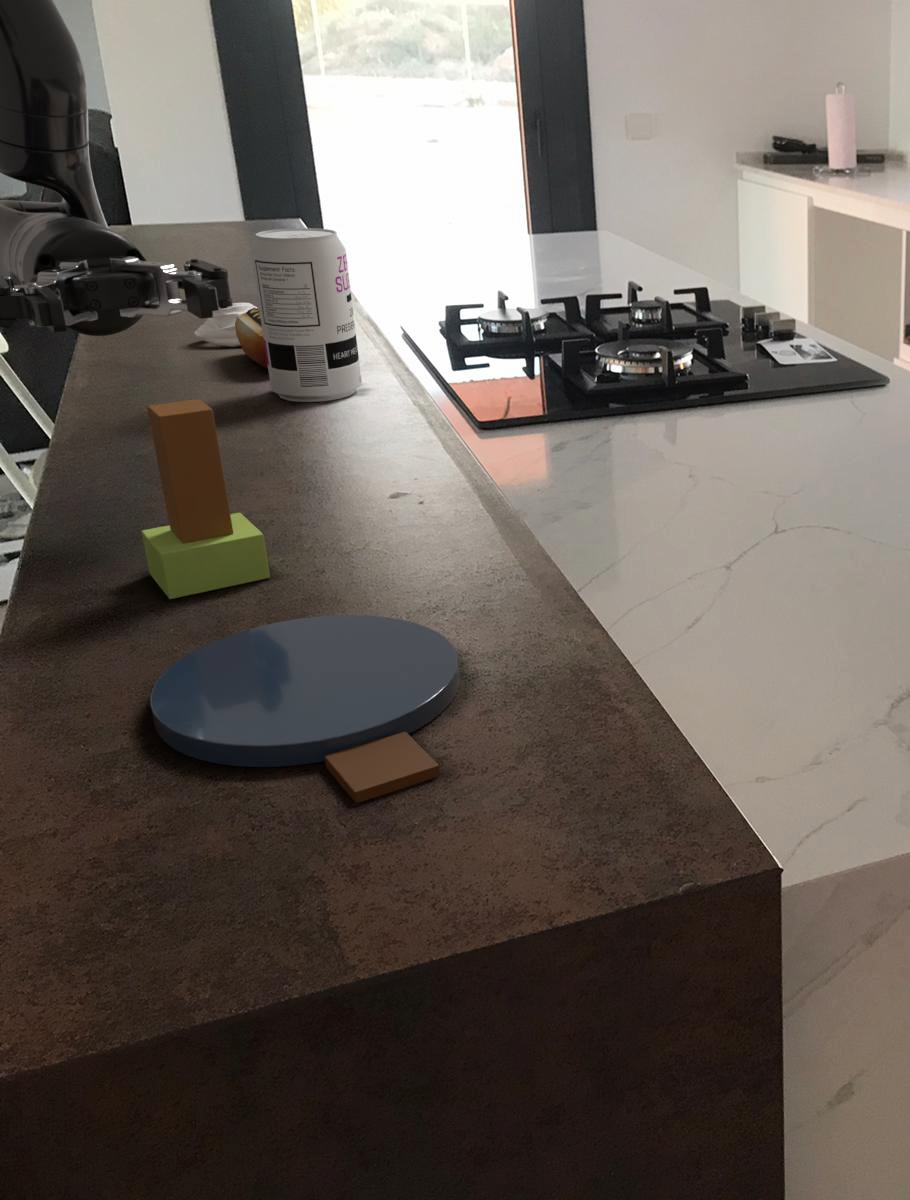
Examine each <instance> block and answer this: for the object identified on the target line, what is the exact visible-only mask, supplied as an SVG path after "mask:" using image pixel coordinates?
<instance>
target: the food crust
mask: <svg viewBox="0 0 910 1200" xmlns="http://www.w3.org/2000/svg"><path fill="white" fill-rule="evenodd" d="M324 758H325V761H324V764H325V768H326V769H327V771H328V772H329V773H330V774H331V775H332V776H333V777H334V779H335V780H336V781H337V782H338V784H339V785H340V786H341V787H342V788H343V790H344V791H345V792H346V793H347V794H348V796H349V797H350V798H351V799H352V800H353V802H354V803H355V804H359V803H362V802H365V801H368V800H371V799H374V798H377V797H381V796H383V795H386V794H390V793H392V792H396V791H399V790H401V789H406V788H407V787H410V786H413V785H417V784H421V783H423V782H427V781H429V780H432V779H433V780H434V779H435V778H439V777H440V776H441V771H440V765H439V763H437V762H436V761H435V760H434V758H433V757H431V756H430V754H429V753H428V752H426V751H425V749H423V748H422V747H421V746H420V744H418V743H417V741H416V740H415V739H413V737H412V736H411V735H410V734H407V732H402V733H399V734H395V735H392V736H389V737H386V738H382V739H379V740H376V741H372V742H369V743H366V744H362V745H359V746H356V747H352V748H349V749H346V750H342V751H339V752H336V753H332V754H329V755H326V756H324Z"/></svg>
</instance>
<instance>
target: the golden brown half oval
mask: <svg viewBox="0 0 910 1200" xmlns="http://www.w3.org/2000/svg"><path fill="white" fill-rule="evenodd" d="M235 329H236V335H237V338H238V340H239V342H240V344H241V346H240V347H241V349H242V350H243V353H244V354H245V355H246V356H247V357H248V358H249V359H251V360H252V361H254V362H255V363H256V364H259V365H260V366H262V367H263V368H265V369H267V370H268V364H267V358H266V351H265V344H264V338H263V331H262V324H261V318H260V311H259V307H257V308H253V309H250V310H248V311H247V312H246V313H243V314H241V315H239V316H237V319H236V322H235Z"/></svg>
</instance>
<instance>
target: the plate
mask: <svg viewBox="0 0 910 1200" xmlns="http://www.w3.org/2000/svg"><path fill="white" fill-rule="evenodd" d="M460 680H461V675H460V665H459V657H458V653H457V651H456V649H455V647H454V645H453V644H452V643H451V642H450V641H449V639H447V637H445V636H444V635H442V634H441V633H439V632H438V631H436V630H434V629H432V628H429V627H428V626H425V625H422V624H419V623H416V622H414V621H410V620H409V621H408V620H405V619H401V618H394V617H389V616H380V615H368V614H366V615H365V614H335V615H334V614H333V615H320V616H309V617H300V618H294V619H289V620H283V621H278V622H273V623H268V624H264V625H260V626H256V627H253V628H247V629H245V630H242V631H240V632H239V631H238V632H236V633H233V634H230V635H227V636H224V637H222V638H219V639H217V640H214V641H212V642H210V643H208V644H205V645H203V646H201V647H199V648H197V649H195V650H193V651H192V652H190V653H188V654H186V655H185V656H183V657H182V658H180V659H179V660H177V661H176V662H174V663H173V664H172V665H170V667H168V668H167V669H166V670H165V671H164V672H163V673H162V674H161V676H159V678H158V679H157V680H156V682H155V684H154V685H153V688H152V690H151V694H150V697H149V698H150V699H149V700H150V701H149V702H150V711H151V715H152V719H153V724H154V725H153V726H154V727H155V730H156V732H157V735H158V736H159V737H160V738H161V739H162V741H163V742H164V743H165V744H166V745H168V746H169V747H171V749H173V750H175V751H176V752H179V753H180V754H183V755H185V756H187V757H190V758H193V759H196V760H200V761H201V762H207V763H212V764H217V765H222V766H223V765H224V766H232V767H243V768H280V767H281V768H282V767H294V766H303V765H309V764H317V763H325V758H324V756H326V755H329V754H332V753H336V752H339V751H342V750H346V749H349V748H352V747H356V746H359V745H362V744H366V743H369V742H372V741H376V740H379V739H382V738H386V737H389V736H392V735H395V734H399V733H402V732H407V734H408V735H410V734H412V733H414V732H416V731H418V730H419V729H421V728H423V727H424V726H426V725H428V724H429V723H430V722H432V721H433V720H434V719H436V718H437V717H439V715H441V714H442V713H443V712H444V711H445V710H446V709H447V707H448V706H450V704H451V703H452V701H454V698H455V697H456V695H457V693H458V690H459V688H460Z"/></svg>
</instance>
